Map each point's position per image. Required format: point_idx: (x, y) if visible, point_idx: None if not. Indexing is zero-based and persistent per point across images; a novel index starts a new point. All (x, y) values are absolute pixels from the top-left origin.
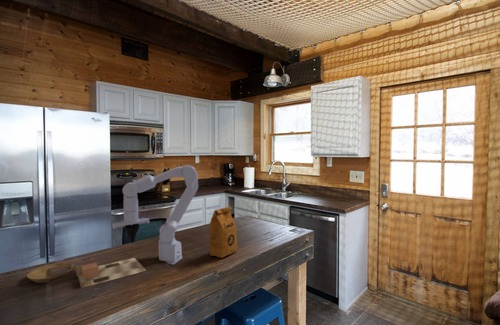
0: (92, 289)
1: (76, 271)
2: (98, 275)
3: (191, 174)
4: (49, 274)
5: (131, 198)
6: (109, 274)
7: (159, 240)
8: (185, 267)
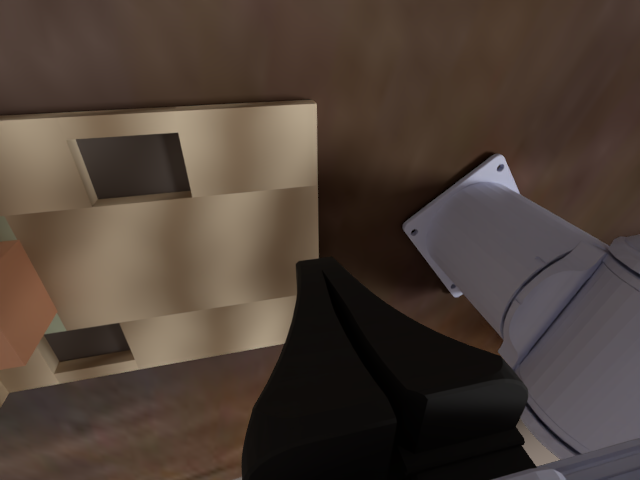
0: None
1: None
2: (54, 316)
3: None
4: None
5: None
6: (126, 310)
7: (523, 310)
8: (468, 334)
